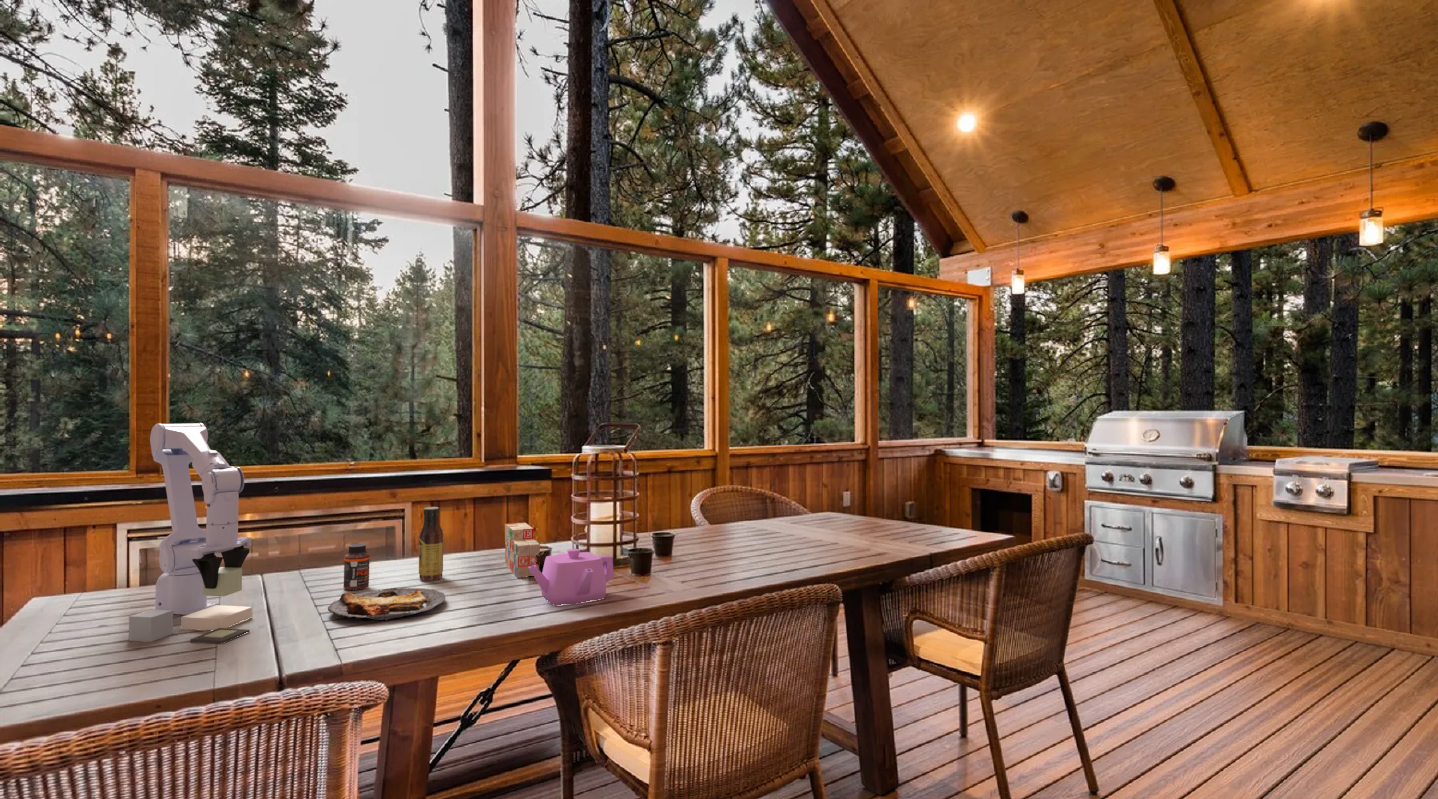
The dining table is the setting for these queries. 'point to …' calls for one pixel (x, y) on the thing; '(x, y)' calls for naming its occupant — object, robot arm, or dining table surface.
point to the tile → (219, 635)
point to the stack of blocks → (520, 549)
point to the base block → (216, 617)
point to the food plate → (386, 603)
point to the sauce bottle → (431, 546)
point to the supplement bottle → (356, 568)
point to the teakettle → (574, 577)
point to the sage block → (226, 582)
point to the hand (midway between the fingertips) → (221, 584)
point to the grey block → (150, 625)
